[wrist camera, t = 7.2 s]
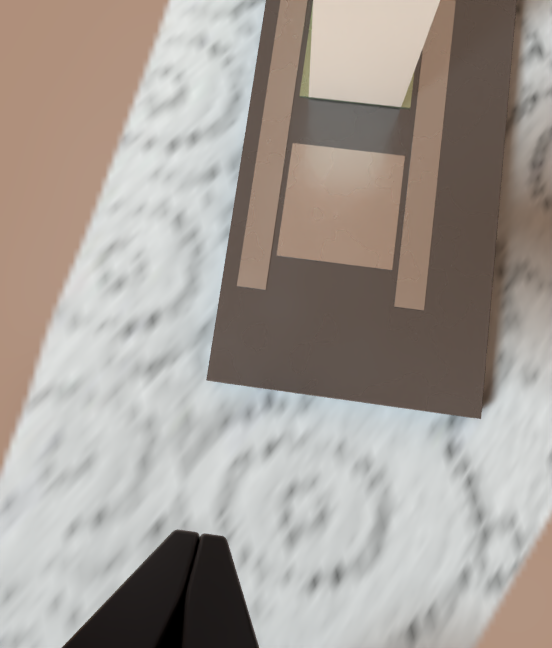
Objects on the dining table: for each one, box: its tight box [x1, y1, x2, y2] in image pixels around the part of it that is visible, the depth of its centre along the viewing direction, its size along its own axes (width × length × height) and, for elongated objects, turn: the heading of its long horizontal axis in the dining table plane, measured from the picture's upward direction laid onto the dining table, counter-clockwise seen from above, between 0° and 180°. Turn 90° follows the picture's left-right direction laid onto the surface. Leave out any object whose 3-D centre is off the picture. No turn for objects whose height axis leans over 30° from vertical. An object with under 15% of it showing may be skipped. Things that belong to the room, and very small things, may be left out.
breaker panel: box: [207, 0, 517, 419], centre depth 21 cm, size 20×11×5 cm, turn 172°
